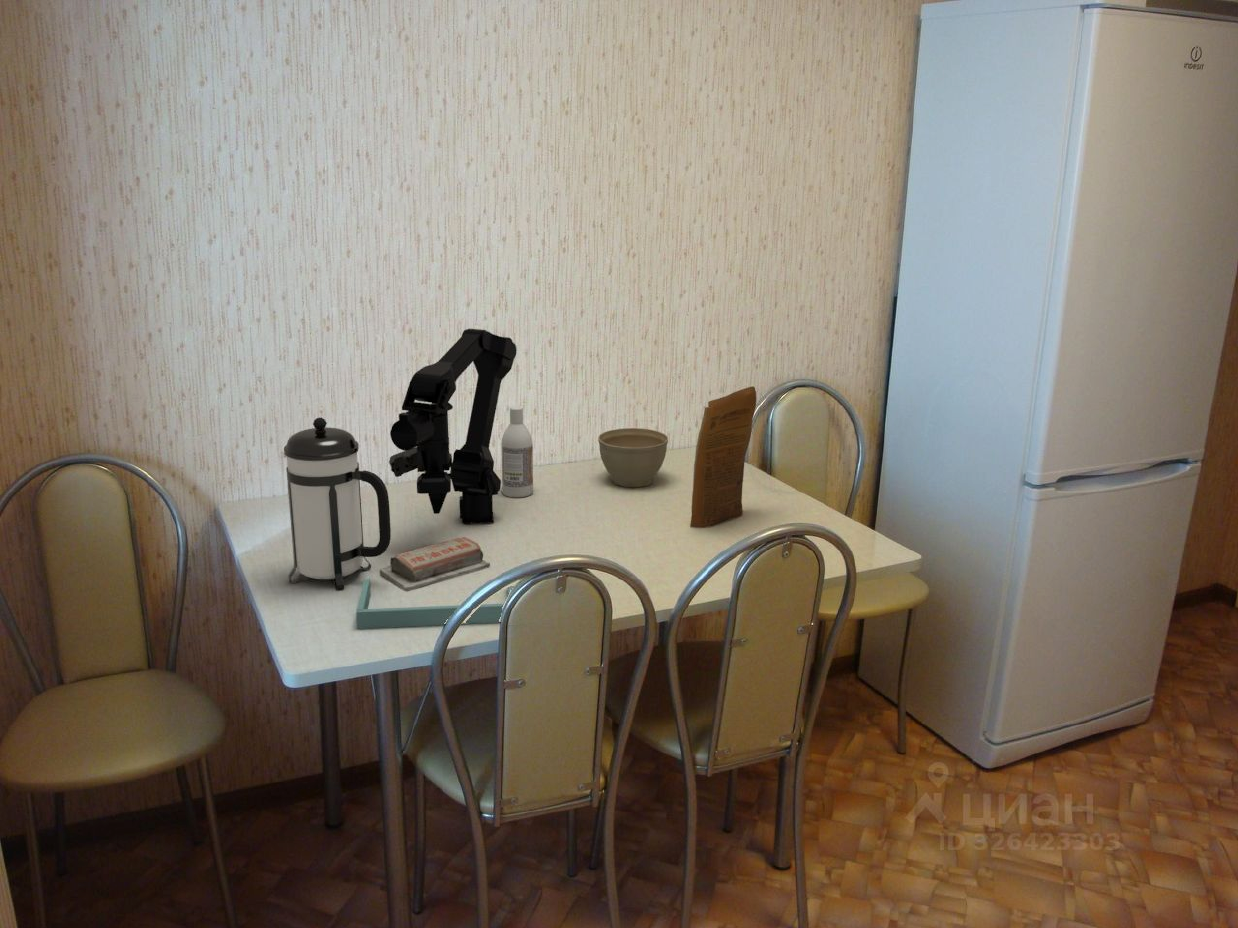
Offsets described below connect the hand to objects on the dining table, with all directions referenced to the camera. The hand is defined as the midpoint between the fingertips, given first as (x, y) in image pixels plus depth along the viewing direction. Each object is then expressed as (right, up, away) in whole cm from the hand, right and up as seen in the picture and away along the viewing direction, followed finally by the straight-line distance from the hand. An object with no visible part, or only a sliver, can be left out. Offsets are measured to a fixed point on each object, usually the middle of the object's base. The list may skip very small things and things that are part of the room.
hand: (436, 513), depth 213 cm
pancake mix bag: (+57, -2, +18) cm, 60 cm away
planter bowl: (+39, +5, +42) cm, 57 cm away
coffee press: (-16, -11, -13) cm, 24 cm away
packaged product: (+2, -11, -10) cm, 15 cm away
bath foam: (+13, +3, +32) cm, 35 cm away
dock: (+5, -15, -26) cm, 30 cm away
